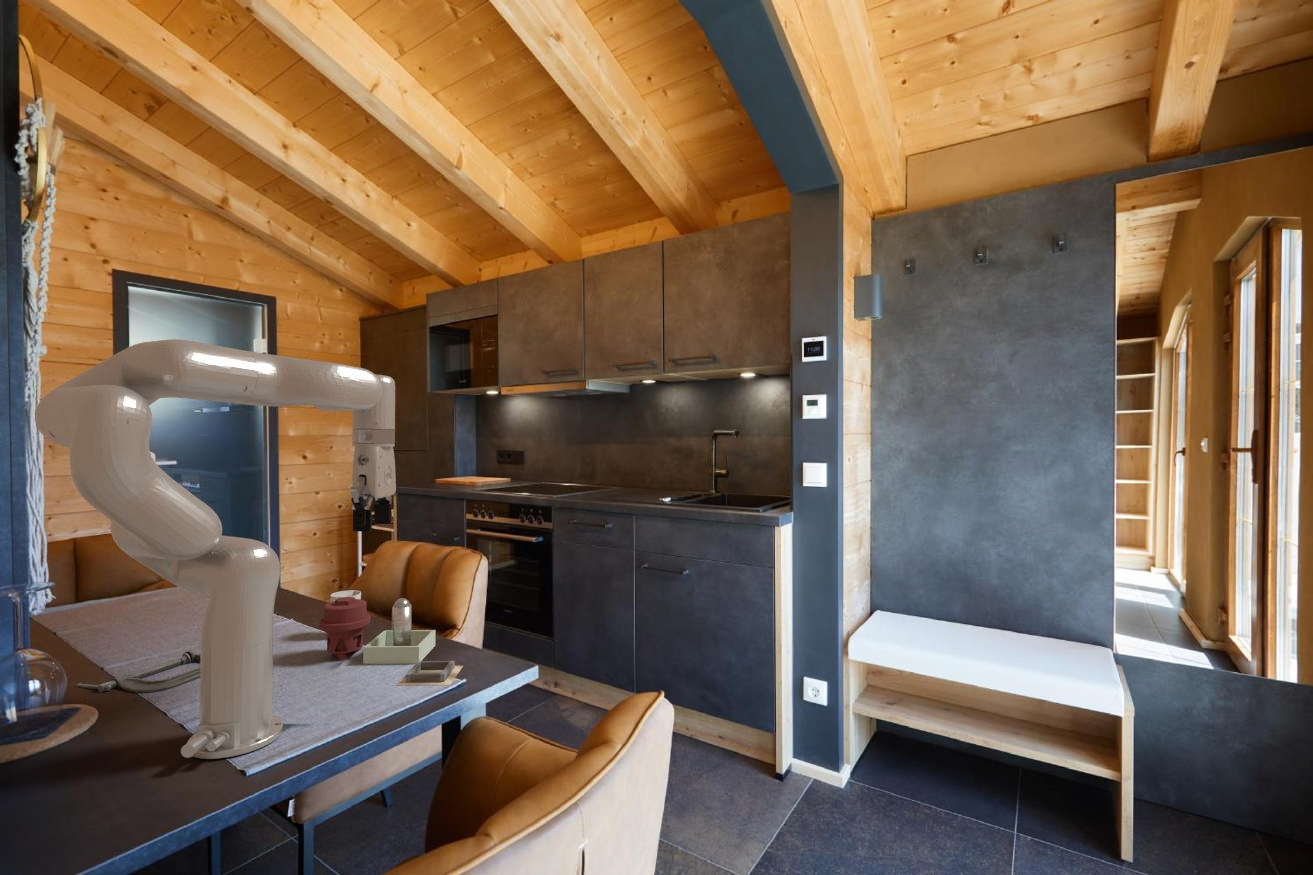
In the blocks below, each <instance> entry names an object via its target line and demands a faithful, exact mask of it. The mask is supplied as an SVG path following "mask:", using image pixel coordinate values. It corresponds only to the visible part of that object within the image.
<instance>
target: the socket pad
mask: <svg viewBox="0 0 1313 875" xmlns="http://www.w3.org/2000/svg"><path fill="white" fill-rule="evenodd" d="M455 662H456V661H455V660H422V661H418V662H417V663H416V664H413V666H412V667H411V668H410V669H409V671H407V673H405V675H404V676H403V677H402V678H401V679H400V680H399V681H398V682H397V683H396V685H395V686H396V687H397V686H398V687H403V686H404V687H405V686H406V687H408V686H409V687H410V686H415V687H416V686H451V685H452V682H453V681H454V680H455V678H456V677H457V676H458V674H459V673H460V671H461V670H462V668H463V667H464V665H456V663H455Z"/></svg>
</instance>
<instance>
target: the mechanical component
mask: <svg viewBox="0 0 1313 875" xmlns="http://www.w3.org/2000/svg"><path fill="white" fill-rule="evenodd" d="M367 603H368V602H367V600H364V599H362V598H361V599H355V598H354V597H342V598H338V599H336V600H335V601H333V602H331V601H330V602H328V603H326V604H324V605H323V618H321V619H320V620H319V626H318V627H319V630H321V631H323V632H326V637H327V638H326V651H327V652H328V653H330V654H331V655H332V656H335V657H337V659H338V661H340V660H342V661H345V660H347V659H348V658H350V656H351V657H353V656H354V655H355V654H356V653H358V652H359V651H360V650H362V648H363V647H364V646H363V645H364V628H366V627H367V626H369V625H370V624H371V615H370V614H369V613H368V612H367V611H368V610H367V605H368V604H367Z"/></svg>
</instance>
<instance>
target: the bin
mask: <svg viewBox="0 0 1313 875" xmlns="http://www.w3.org/2000/svg"><path fill="white" fill-rule="evenodd" d="M436 632H437V631H436V629H433V630H432V629H425V630H424V629H419V630H418V629H416V630H415V629H414V630H413V629H411V644H412V645H413V646H392V629H391V630H383V631H382V632H381V633H380V634H378V635H377V636H376V637H374V638H373V639H372V640H371V641H369V642H368V643H367V644H366V645H365V646H363V647H362V648H363V651H362V652H363V653H362V654H363V657H362V658H363V659H362V660H363V662H362V663H363V665H410V664H411V665H415V664H416V663H417V662H418V661H424V660H423V659H425V657H426V656H427V655H428V654H429V653H430V652H431V651H432V650H433V649H435V648H434V647H436Z"/></svg>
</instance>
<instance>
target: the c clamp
mask: <svg viewBox="0 0 1313 875" xmlns="http://www.w3.org/2000/svg"><path fill="white" fill-rule="evenodd" d="M194 662H200V654H199V653H198V654H197V653H196V654H195V653H194V652H192V651H190V650H187V651H185V652H184V653H182V655H181V657H180V658H176V659H172V660H169V661H166V662H164V663H161V664H159V665H155V666H151V667H150V668H149V667H148V668H146V669H143V670H139V671H138V672H134V673H131V674H129V675H128V674H122V675H118V676H115V677H113V678H112V679H111V681H108V682H103V683H101V684H89V683H88V684H85V683H77V684H76V685H75V687H76V688H82V689H92V690H98V692H99V693H103V692H106V691H111V690H112V689H115V688H118V689H119V688H121V689H123V690H125V691H128V692H132V693H136V694H152V693H158V692H163V691H167V690H172V689H174V688H176V687H179V686H182V685H184V684H188V683H190V682H192V681H195V680H198V679H200V666H198V667H195V668H192V669H190V670H187V671H184V672H181V673H179V674H175V675H174V676H171V677H168V678H164V679H159V680H158V679H157V680H147V679H143V678H146V677H148V676H153V675H155V674H158V673H162V672H163V671H166V670H169V669H173V668H175V667H177V666H180V665H185V664H188V665H189V664H192V663H194Z"/></svg>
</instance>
